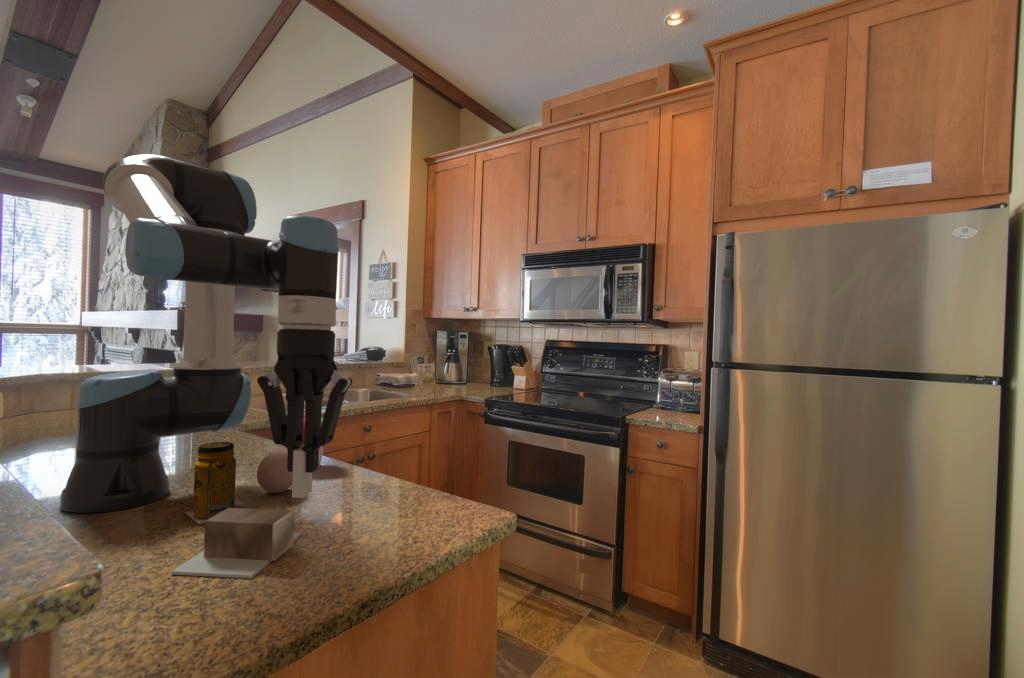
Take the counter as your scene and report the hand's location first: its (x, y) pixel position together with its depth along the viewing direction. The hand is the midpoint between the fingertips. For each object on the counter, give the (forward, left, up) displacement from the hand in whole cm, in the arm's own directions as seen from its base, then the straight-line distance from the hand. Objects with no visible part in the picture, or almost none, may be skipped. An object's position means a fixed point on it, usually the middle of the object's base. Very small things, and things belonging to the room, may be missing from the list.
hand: (302, 494), depth 65 cm
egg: (-17, +25, -9) cm, 32 cm away
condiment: (-21, +14, -9) cm, 27 cm away
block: (-2, 0, -6) cm, 6 cm away
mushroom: (-20, +43, -9) cm, 49 cm away
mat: (-8, 0, -9) cm, 12 cm away
